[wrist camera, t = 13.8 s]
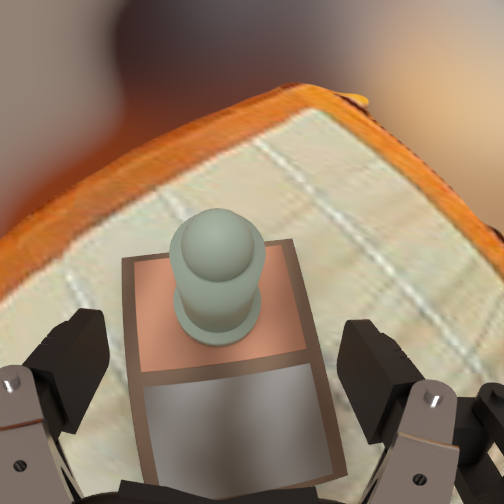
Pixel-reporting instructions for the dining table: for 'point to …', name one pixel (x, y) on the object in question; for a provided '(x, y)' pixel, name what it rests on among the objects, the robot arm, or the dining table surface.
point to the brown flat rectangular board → (229, 388)
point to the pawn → (217, 276)
